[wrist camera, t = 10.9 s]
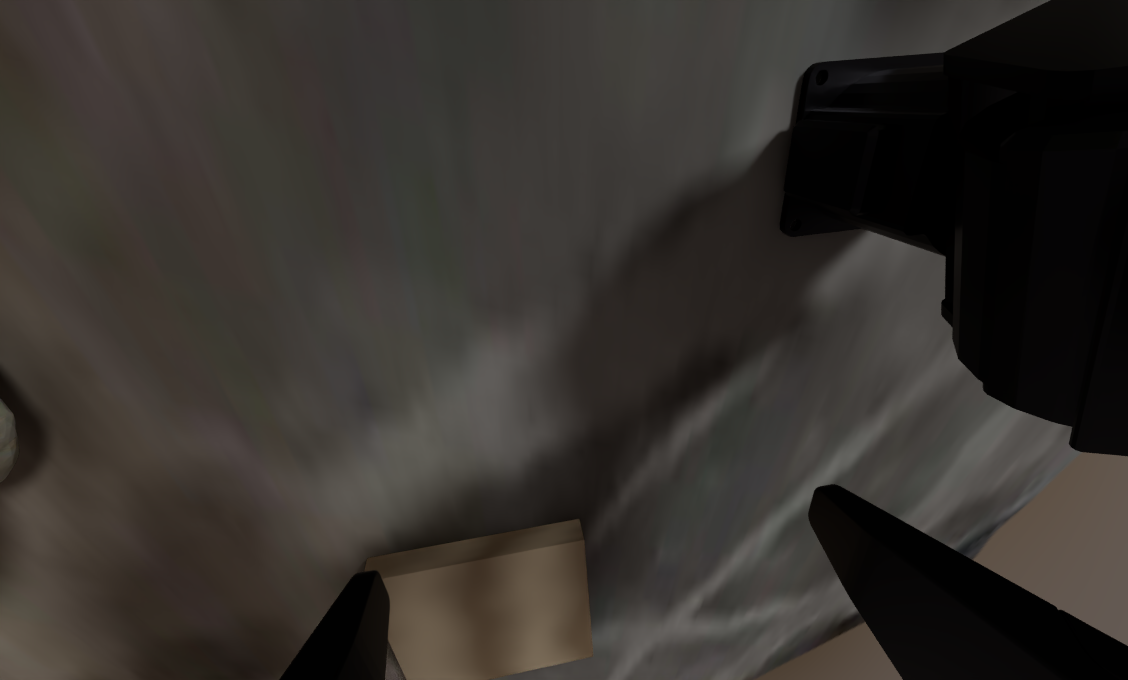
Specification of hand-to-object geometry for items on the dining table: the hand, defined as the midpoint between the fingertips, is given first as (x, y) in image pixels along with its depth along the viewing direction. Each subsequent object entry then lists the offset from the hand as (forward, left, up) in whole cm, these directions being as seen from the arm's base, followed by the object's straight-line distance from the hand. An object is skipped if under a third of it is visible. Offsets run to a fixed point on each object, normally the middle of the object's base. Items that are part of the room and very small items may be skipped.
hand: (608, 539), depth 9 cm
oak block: (+5, +20, -13) cm, 24 cm away
